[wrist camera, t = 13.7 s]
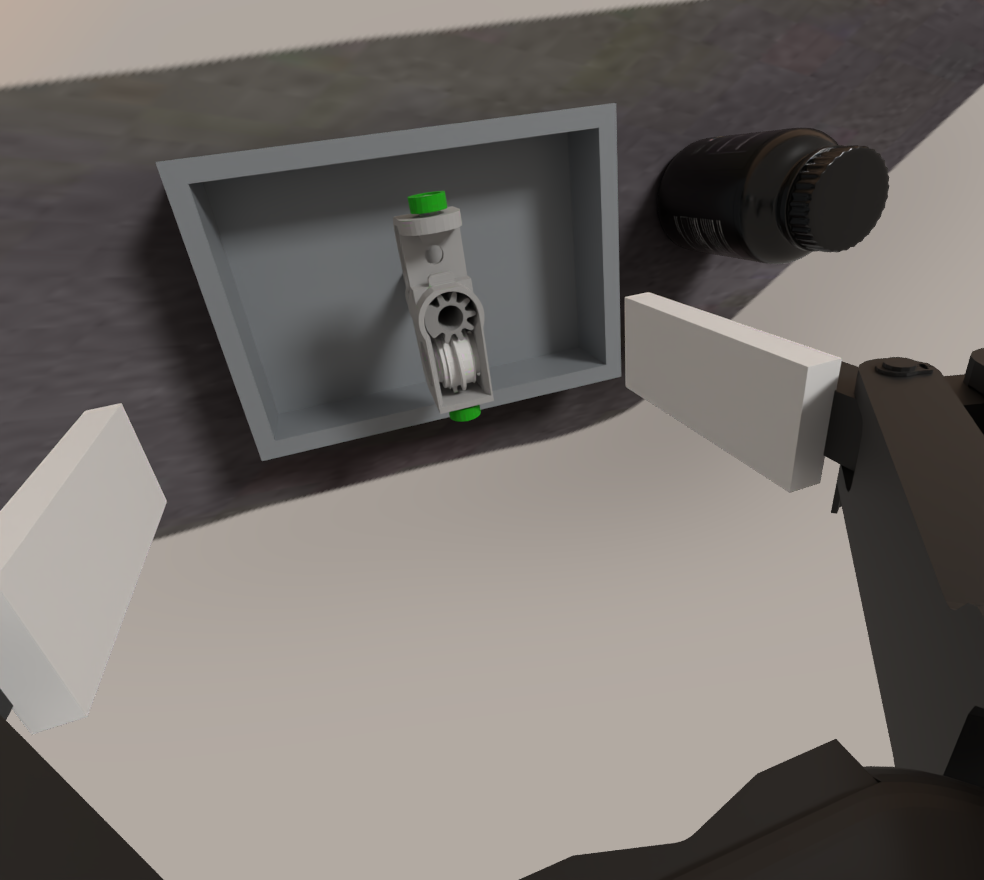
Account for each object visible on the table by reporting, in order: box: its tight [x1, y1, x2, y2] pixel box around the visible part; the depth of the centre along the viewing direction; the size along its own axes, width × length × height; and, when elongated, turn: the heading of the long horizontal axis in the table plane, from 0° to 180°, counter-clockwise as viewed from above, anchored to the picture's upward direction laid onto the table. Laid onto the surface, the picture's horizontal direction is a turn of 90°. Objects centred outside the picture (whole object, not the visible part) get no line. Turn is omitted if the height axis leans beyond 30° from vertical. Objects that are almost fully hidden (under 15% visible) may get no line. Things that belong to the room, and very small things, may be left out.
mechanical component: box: [393, 191, 494, 422], centre depth 29 cm, size 3×10×10 cm, turn 10°
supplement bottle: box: [657, 128, 889, 264], centre depth 32 cm, size 7×7×12 cm
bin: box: [155, 103, 621, 461], centre depth 32 cm, size 22×15×5 cm
